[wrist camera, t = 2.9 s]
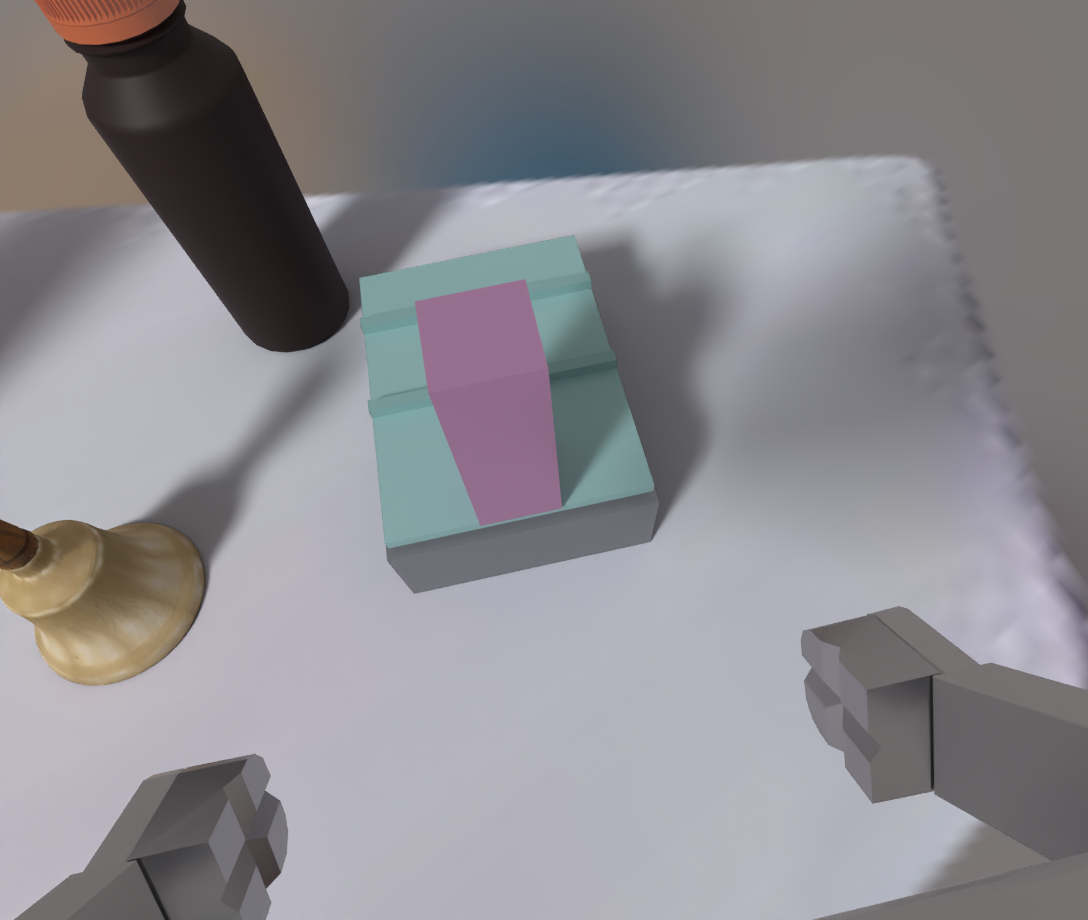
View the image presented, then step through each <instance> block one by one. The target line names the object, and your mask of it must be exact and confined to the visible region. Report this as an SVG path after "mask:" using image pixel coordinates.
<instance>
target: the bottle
mask: <svg viewBox="0 0 1088 920" xmlns="http://www.w3.org/2000/svg"><path fill="white" fill-rule="evenodd" d="M35 1H36V3H37V4H38V6H39V7H40V8H41V10H42V12H43V13H44V14H45V16H46V17H47V19H48V20H49V22H50V23H51V25H52V26H53V28H54V29H55V31H56V32H57V33H58V34H59V35H60V36H61V37H63V38H64V41H65V43H66V44H67V45H68V46H69V47H70V48H71V49H72V50H74V51H75V52H77V53H80V54H82V55H83V56H84V58H85V59H86V61H87V62H88V66H87V72H86V77H85V82H84V87H83V92H82V99H83V103H84V107H85V110H86V114H87V117H88V118H89V120H90V122H91V123H92V125H93V126H94V127H95V129H96V130H97V131H98V133H99V134H100V135H101V137H102V138H103V140H104V141H105V142H106V144H107V145H108V146H109V148H110V149H111V151H112V152H113V153H114V155H115V156H116V157H117V159H118V160H119V162H120V163H121V164H122V166H123V167H124V168H125V170H126V171H127V173H128V174H129V175H130V177H131V178H132V179H133V181H134V182H135V183H136V185H137V186H138V187H139V189H140V190H141V192H142V193H143V194H144V196H145V197H146V199H147V200H148V201H149V203H150V204H151V205H152V207H153V208H154V210H155V211H156V212H157V214H158V215H159V216H160V218H161V219H162V220H163V222H164V223H165V225H166V226H167V227H168V229H169V230H170V231H171V233H172V234H173V236H174V237H175V238H176V240H177V241H178V242H179V244H180V245H181V247H182V248H183V249H184V251H185V252H186V253H187V255H188V256H189V257H190V259H191V260H192V262H193V263H194V264H195V266H196V267H197V268H198V270H199V271H200V273H201V274H202V275H203V277H204V278H205V279H206V281H207V282H208V284H209V285H210V286H211V288H212V289H213V290H214V292H215V293H216V295H217V296H218V297H219V299H220V300H221V301H222V303H223V304H224V305H225V307H226V308H227V310H228V311H229V312H230V314H231V315H232V316H233V318H234V319H235V321H236V322H237V323H238V325H239V326H240V327H241V329H242V330H243V332H244V333H245V334H246V335H247V336H248V337H249V338H250V339H251V340H252V341H253V342H254V343H255V344H256V345H258V346H260V347H263V348H265V349H268V350H270V351H277V352H292V351H298V350H304V349H307V348H309V347H311V346H314V345H316V344H318V343H321V342H322V341H323V340H325V339H326V338H327V337H329V336H330V335H331V334H333V333H334V332H335V331H336V329H337V328H338V327H339V326H340V324H341V323H342V322H343V320H344V318H345V316H346V313H347V310H348V307H349V302H348V290H347V288H346V286H345V284H344V282H343V280H342V278H341V276H340V274H339V271H338V269H337V267H336V265H335V263H334V261H333V259H332V257H331V254H330V252H329V250H328V248H327V246H326V244H325V242H324V240H323V237H322V235H321V233H320V231H319V229H318V227H317V225H316V223H315V220H314V218H313V216H312V214H311V212H310V210H309V208H308V206H307V203H306V201H305V199H304V197H303V195H302V193H301V191H300V189H299V187H298V184H297V182H296V180H295V178H294V176H293V174H292V172H291V170H290V168H289V165H288V163H287V161H286V159H285V157H284V155H283V153H282V150H281V148H280V146H279V144H278V142H277V140H276V138H275V136H274V133H273V131H272V129H271V127H270V125H269V123H268V121H267V119H266V117H265V114H264V112H263V111H262V108H261V106H260V104H259V102H258V100H257V97H256V95H255V93H254V91H253V89H252V87H251V85H250V83H249V81H248V78H247V76H246V74H245V72H244V70H243V68H242V66H241V64H240V62H239V60H238V58H237V56H236V54H235V53H234V51H233V50H232V49H231V48H230V47H229V46H227V45H226V44H224V43H223V42H221V41H220V40H218V39H217V38H215V37H214V36H212V35H210V34H208V33H205V32H204V31H201V30H199V29H197V28H195V27H193V26H191V25H189V24H188V23H187V21H186V19H185V17H184V15H185V10H186V5H185V3H184V1H183V0H35Z"/></svg>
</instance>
